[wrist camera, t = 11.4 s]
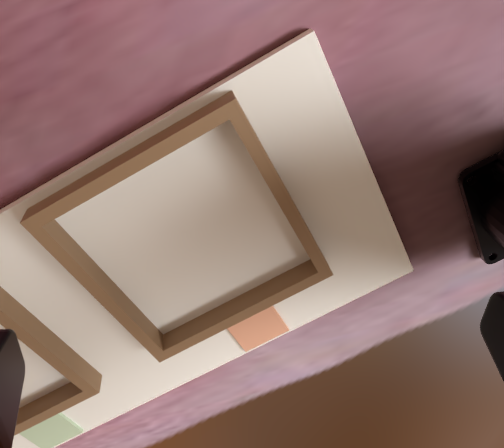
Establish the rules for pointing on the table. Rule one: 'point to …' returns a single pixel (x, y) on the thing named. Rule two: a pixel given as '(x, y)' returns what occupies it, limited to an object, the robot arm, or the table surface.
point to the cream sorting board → (191, 244)
